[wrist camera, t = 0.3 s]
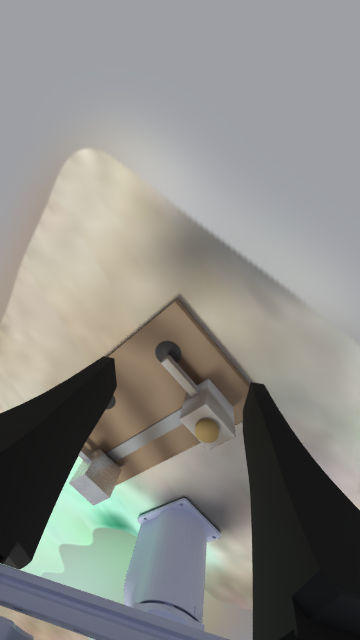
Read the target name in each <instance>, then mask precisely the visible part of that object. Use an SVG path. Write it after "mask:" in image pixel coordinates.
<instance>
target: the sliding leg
mask: <svg viewBox="0 0 360 640" xmlns="http://www.w3.org/2000/svg"><path fill="white" fill-rule="evenodd" d="M79 456H80V457H81V458H82V459H83V462H82V463H81V465H80V467H79V468H78V470H77V471H76V473H75V474H74V476H73V477H72V479H71V480H70V482H69V484H71V485H72V486H73V487H74V488H75V489H76V490H77V491H78V492H79V493H80V494H81V495H82V496H84V497H85V498H86V499H87V500H88V501H89V502H90V503H91V504H92V505H95V504H97V503H100V502H102V501H104V500H106V499H108V498H110V496H111V493H112V491H113V489H114V487H115V485H116V482H117V480H118V478H119V476H120V473H121V471H122V470H121V469H120V468H119V467H118V466H117V465H116V464H115V463H114V462H113V461H112V460H111V459H110V458H109V457H108V456H107V455H106V454H105V453H104V452H103V451H102V450H101V449H98V450H97V451H95V452H94V453H92V452H91V451H90V450H89V449H88V448H87V447H86V446H85V445H84V446H83V448H82V450H81V451H80V453H79Z"/></svg>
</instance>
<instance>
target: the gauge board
mask: <svg viewBox="0 0 360 640" xmlns="http://www.w3.org/2000/svg"><path fill="white" fill-rule="evenodd" d="M108 357H110V358H114V360H115V371H116V381H117V388H116V390H115V392H114V394H113V397H112V399H111V401H110V403H109V405H108V406H107V408H106V410H105V411H104V413H103V415H102V416H101V418H100V420H99V421H98V423H97V425H96V426H95V428H94V429H93V431H92V433H91V434H90V436H89V438H88V439H87V441H86V442H85V444H84V445H85V446H86V447H87V448H88V449H89V450H90V451H91V452H92V453H94V452H95V451H97V450H98V449H101V450H102V451H103V452H104V453H105V454H106V455H107V456H108V457H109V458H110V459H111V460H112V461H113V462H114V463H115V464H116V465H117V466H118V467H119V468H120V469H121V470H122V471H121V473H120V476H119V478H118V480H117V482H116V485H118V484H120V483H122V482H124V481H126V480H128V479H130V478H132V477H134V476H136V475H138V474H139V473H141V472H143V471H145V470H147V469H149V468H151V467H153V466H155V465H157V464H159V463H161V462H163V461H165V460H167V459H169V458H171V457H173V456H175V455H177V454H179V453H181V452H183V451H185V450H187V449H189V448H191V447H193V446H195V445H197V444H199V443H202V444H203V445H204V446H205V447H206V449H207V450H209V449H211V448H213V447H216V446H218V445H220V444H222V443H224V442H226V441H228V440H230V439H232V438H234V437H236V436H235V425H237V424H239V423H241V422H243V408H244V404H245V401H246V397H247V394H248V391H249V387H250V384H249V383H248V382H247V380H246V379H245V378H244V377H243V376H242V375H241V373H240V372H239V371H238V370H237V369H236V367H235V366H234V365H233V364H232V363H231V362H230V360H229V359H228V358H227V357H226V356H225V354H224V353H223V352H222V351H221V350H220V349H219V347H218V346H217V345H216V344H215V343H214V341H213V340H212V339H211V338H210V337H209V336H208V334H207V333H206V332H205V331H204V330H203V328H202V327H201V326H200V325H199V324H198V323H197V321H196V320H195V319H194V318H193V317H192V315H191V314H190V313H189V312H188V311H187V310H186V308H185V307H184V306H183V305H182V304H181V302H180V301H179V300H178V299H176V300H175V301H174V302H173V303H172V304H170V305H169V306H168V307H167V308H166V309H164V310H163V311H162V312H161V313H160V314H158V315H157V316H156V317H155V318H154V319H152V320H151V321H150V322H149V323H148V324H146V325H145V326H144V327H143V328H142V329H140V330H139V331H138V332H137V333H135V334H134V335H133V336H132V337H131V338H129V339H128V340H127V341H126V342H125V343H123V344H122V345H121V346H120V347H119V348H117V349H116V350H115V351H114V352H113V353H111V354H110V355H109V356H108ZM116 485H115V486H116Z"/></svg>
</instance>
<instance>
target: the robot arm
mask: <svg viewBox="0 0 360 640" xmlns="http://www.w3.org/2000/svg"><path fill="white" fill-rule="evenodd" d="M116 388H117V381H116V371H115V360H114V358H110V357H105V356H104V357H102V358H100V359H99V360H97V361H96V362H94V363H92V364H91V365H89V366H88V367H86V368H85V369H83V370H82V371H80V372H79V373H77V374H75V375H74V376H72V377H71V378H69V379H67V380H66V381H64V382H62V383H61V384H59V385H57V386H55V387H54V388H52V389H50V390H49V391H47V392H45V393H43V394H41V395H39V396H37V397H35V398H33V399H31V400H29V401H27V402H25V403H23V404H21V405H19V406H16V407H14V408H12V409H9V410H7V411H5V412H3V413H0V563H1V564H0V605H1V606H4V607H6V608H9V609H12V610H15V611H18V612H20V613H23V614H26V615H29V616H31V617H34V618H37V619H40V620H43V621H45V622H48V623H51V624H54V625H56V626H59V627H62V628H65V629H68V630H70V631H73V632H76V633H79V634H81V635H84V636H87V637H90V638H93V639H95V640H229V639H226V638H223V637H220V636H217V635H214V634H211V633H208V632H205V631H204V624H203V603H204V585H205V565H206V545H207V542H209V541H212V540H216V539H219V538H220V537H221V534H220V532H219V531H218V530H217V529H216V528H215V527H214V526H213V525H212V524H211V523H210V522H209V521H208V520H207V519H206V518H205V517H204V516H203V515H202V514H201V513H200V512H199V511H198V510H197V509H196V508H195V507H194V506H193V505H192V504H191V503H190V502H189V501H188V500H187V499H186V498H182V499H179V500H177V501H175V502H172V503H170V504H167V505H165V506H162V507H160V508H157V509H155V510H153V511H150V512H148V513H145V514H143V515H140V516H138V519H137V520H138V522H139V523H140V524H141V526H140V530H139V533H138V537H137V540H136V544H135V547H134V550H133V554H132V558H131V561H130V565H129V568H128V571H127V575H126V579H125V585H124V603H125V605H123V604H120V603H117V602H114V601H111V600H108V599H105V598H102V597H99V596H96V595H93V594H90V593H87V592H84V591H81V590H78V589H75V588H72V587H69V586H66V585H63V584H60V583H57V582H54V581H51V580H48V579H45V578H42V577H39V576H36V575H33V574H30V573H27V572H24V571H21V570H18V569H22V568H23V567H25V566H26V565H28V564H29V563H30V562H31V561H32V559H33V556H34V554H35V551H36V549H37V546H38V544H39V541H40V539H41V537H42V534H43V532H44V529H45V527H46V524H47V522H48V520H49V517H50V515H51V513H52V511H53V508H54V506H55V504H56V502H57V499H58V497H59V495H60V493H61V491H62V488H63V486H64V484H65V482H66V480H67V478H68V476H69V474H70V471H71V469H72V467H73V465H74V463H75V461H76V459H77V457H78V455H79V453H80V451H81V450H82V448H83V446H84V444H85V442H86V441H87V439H88V438H89V436H90V434H91V433H92V431H93V429H94V428H95V426H96V425H97V423H98V421H99V420H100V418H101V416H102V415H103V413H104V411H105V410H106V408H107V406H108V405H109V403H110V401H111V399H112V397H113V394H114V392H115V390H116ZM243 435H244V444H245V451H246V459H247V467H248V475H249V483H250V496H251V521H252V562H253V640H360V510H359V509H358V508H357V507H356V506H355V505H354V504H353V503H352V502H351V501H350V500H349V499H348V498H347V496H346V495H345V494H344V493H343V492H342V491H341V490H340V489H339V488H338V487H337V486H336V485H335V483H334V482H333V481H332V480H331V479H330V478H329V477H328V476H327V474H326V473H325V472H324V471H323V470H322V469H321V467H320V466H319V465H318V464H317V463H316V461H315V460H314V459H313V458H312V456H311V455H310V454H309V452H308V451H307V450H306V449H305V447H304V446H303V445H302V443H301V442H300V440H299V439H298V438H297V436H296V435H295V433H294V432H293V431H292V429H291V428H290V426H289V425H288V423H287V422H286V420H285V418H284V417H283V415H282V414H281V412H280V411H279V409H278V407H277V406H276V404H275V402H274V401H273V399H272V397H271V396H270V394H269V392H268V390H267V389H266V387H265V385H264V384H259V383H253V382H251V384H250V387H249V391H248V394H247V397H246V401H245V404H244V408H243ZM3 564H4V565H3ZM6 565H7V566H6ZM9 566H10V567H9ZM12 567H13V568H12ZM15 568H16V569H15ZM0 640H33V636H32V635H30V634H28V633H27V632H25V631H23V630H22V629H20V628H19V627H18V626H16V625H15V623H14V622H13V621H11V620H9V619H7V618H4V617H2V616H0Z"/></svg>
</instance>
